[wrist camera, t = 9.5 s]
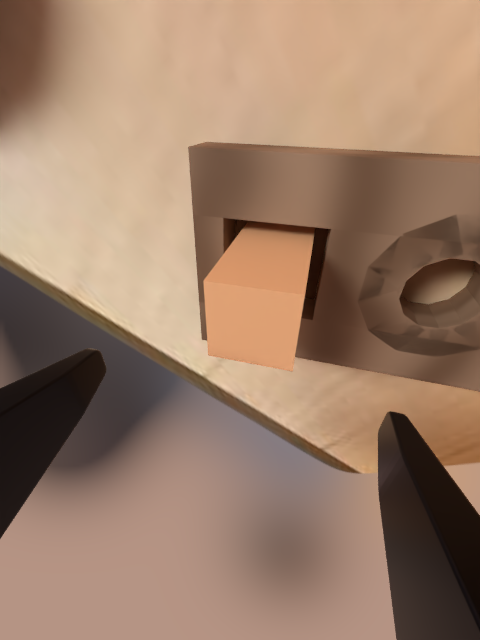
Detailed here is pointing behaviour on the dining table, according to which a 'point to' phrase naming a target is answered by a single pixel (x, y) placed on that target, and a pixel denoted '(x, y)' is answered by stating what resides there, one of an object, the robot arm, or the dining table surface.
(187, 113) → the dining table surface
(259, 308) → the square peg
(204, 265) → the socket board
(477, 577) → the robot arm
